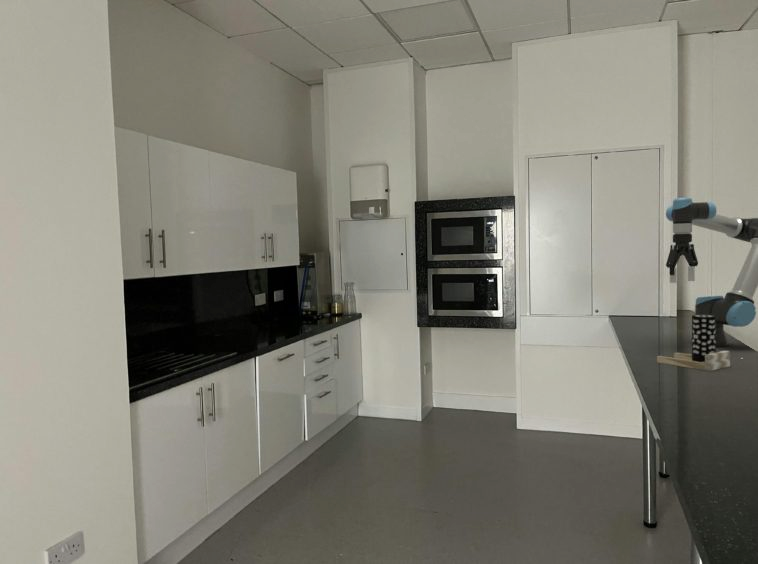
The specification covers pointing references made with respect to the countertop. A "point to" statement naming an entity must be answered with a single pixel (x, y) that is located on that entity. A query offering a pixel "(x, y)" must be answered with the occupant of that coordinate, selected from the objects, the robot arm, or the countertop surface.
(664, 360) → the guide channel
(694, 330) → the white-spotted black cylinder
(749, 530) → the countertop surface
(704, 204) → the robot arm
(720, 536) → the countertop surface
